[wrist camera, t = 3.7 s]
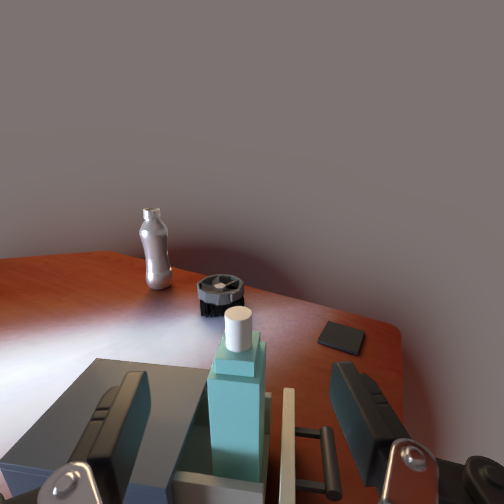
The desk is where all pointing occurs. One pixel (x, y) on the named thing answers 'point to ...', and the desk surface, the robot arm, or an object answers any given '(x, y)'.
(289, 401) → the drawer
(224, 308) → the cpu cooler
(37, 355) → the desk surface
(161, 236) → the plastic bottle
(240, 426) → the soap bottle
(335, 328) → the mat
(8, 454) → the cabinet
